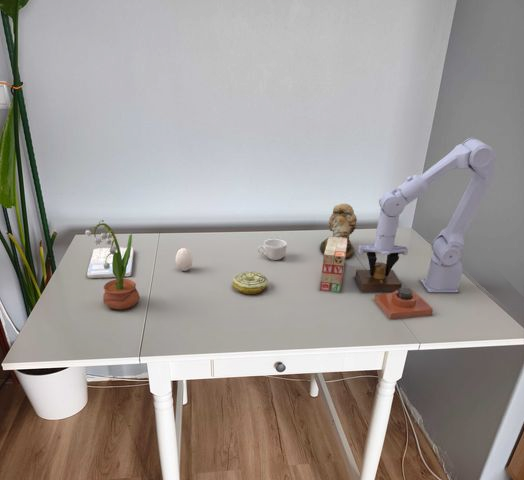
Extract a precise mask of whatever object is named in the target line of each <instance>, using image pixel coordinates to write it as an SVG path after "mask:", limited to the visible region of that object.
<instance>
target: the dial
mask: <svg viewBox="0 0 524 480" xmlns="http://www.w3.org/2000/svg"><path fill="white" fill-rule="evenodd" d="M386 269H387V265H386V263H385V262H381V261H376V264H375V268H374V275H373V276H372V277H373V278H375V279H384V278H385V275H386Z"/></svg>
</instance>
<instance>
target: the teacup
mask: <svg viewBox="0 0 524 480" xmlns="http://www.w3.org/2000/svg"><path fill="white" fill-rule="evenodd" d="M287 247H288V242H287V241H286V240H284V239H281V238H268V239H265V240H264V241H263V245H260V246H258V247H257V252H258V253H259V254H261V255H264V256H265V257H266V258H267V259H268V260H271V261H279V260H281V259H282V258H284V257H285V254H286V252H287ZM260 249H262V250H263V252H262V251H260Z"/></svg>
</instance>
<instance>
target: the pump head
mask: <svg viewBox="0 0 524 480" xmlns="http://www.w3.org/2000/svg"><path fill="white" fill-rule="evenodd" d="M413 291H414V290H413V289H411V288H409V287H401V288H400V289H399V290H398V295H397V296H398V297H399V298H401V299H404V300H410V299H411V298H412V294H413Z"/></svg>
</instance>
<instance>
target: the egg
mask: <svg viewBox="0 0 524 480" xmlns="http://www.w3.org/2000/svg"><path fill="white" fill-rule="evenodd" d="M175 265H176V266H177V268H178V269H179V270H180V271H184V272H186V271H189V270H190V269H191V267H192V266H193V256H192V252H191V251H190V250H189V249H188V248H186V247H181V248H180V249H179V250H178V251H177V253H176V254H175Z"/></svg>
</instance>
